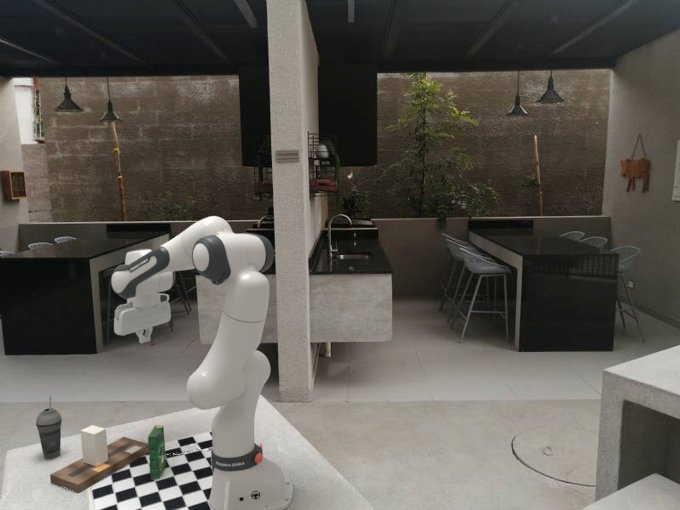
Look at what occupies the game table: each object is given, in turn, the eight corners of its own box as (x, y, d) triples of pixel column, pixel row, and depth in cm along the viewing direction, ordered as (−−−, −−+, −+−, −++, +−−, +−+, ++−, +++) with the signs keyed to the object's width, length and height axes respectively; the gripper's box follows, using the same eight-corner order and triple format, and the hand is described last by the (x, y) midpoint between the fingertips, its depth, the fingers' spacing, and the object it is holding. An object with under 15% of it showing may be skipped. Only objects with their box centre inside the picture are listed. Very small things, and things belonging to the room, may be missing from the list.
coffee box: (157, 465, 162) (154, 424, 161) (166, 465, 162) (164, 424, 161) (149, 480, 154) (146, 436, 153) (160, 479, 154) (157, 436, 153)
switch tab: (94, 456, 163) (92, 425, 162) (108, 460, 160) (105, 428, 159) (83, 462, 160) (80, 430, 158) (96, 466, 157) (94, 434, 156)
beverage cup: (47, 450, 173) (42, 391, 171) (69, 450, 173) (64, 391, 170) (34, 461, 166) (28, 400, 164) (56, 461, 166) (51, 400, 163)
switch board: (124, 443, 177) (123, 436, 176) (150, 451, 171) (150, 443, 171) (50, 482, 154) (50, 474, 153) (78, 493, 148) (77, 484, 148)
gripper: (122, 307, 158) (125, 352, 160) (172, 294, 176) (175, 335, 178) (107, 305, 161) (110, 349, 163) (158, 293, 179) (161, 333, 181)
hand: (144, 342), depth 170 cm, fingers closed
